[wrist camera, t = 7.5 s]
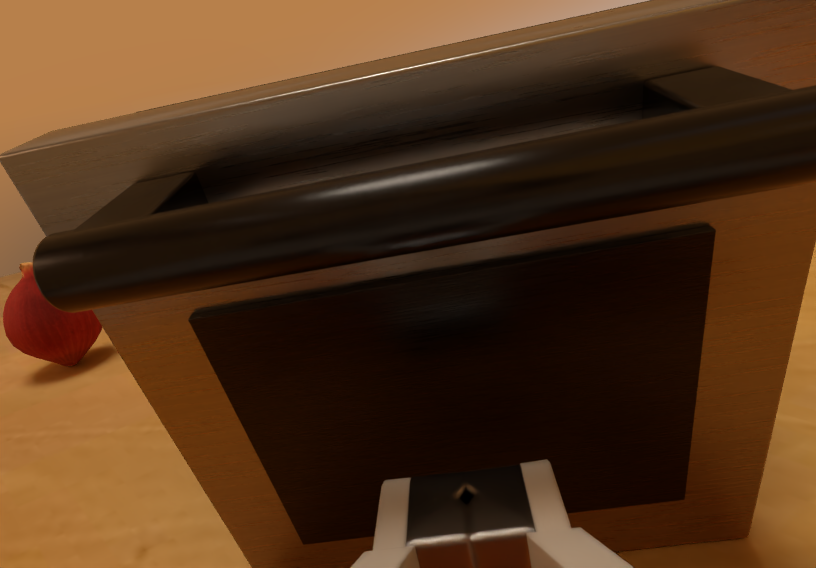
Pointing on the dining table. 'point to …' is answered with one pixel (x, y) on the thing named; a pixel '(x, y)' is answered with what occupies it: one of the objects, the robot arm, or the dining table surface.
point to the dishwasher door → (461, 271)
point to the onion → (46, 324)
